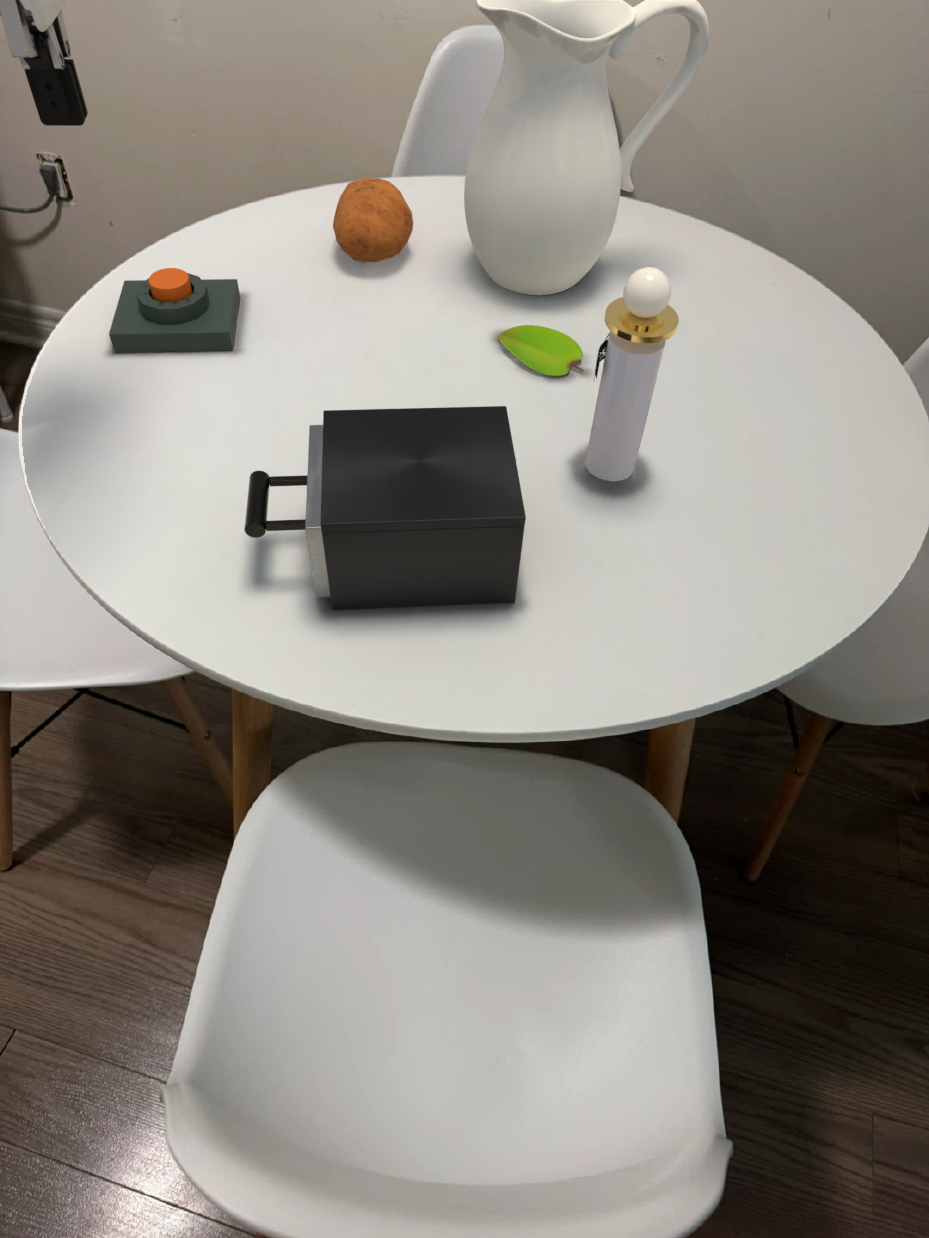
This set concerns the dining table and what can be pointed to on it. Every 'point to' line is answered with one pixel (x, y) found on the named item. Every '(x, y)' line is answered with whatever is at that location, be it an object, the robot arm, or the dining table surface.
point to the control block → (176, 318)
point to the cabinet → (420, 507)
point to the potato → (372, 220)
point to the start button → (170, 285)
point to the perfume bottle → (629, 372)
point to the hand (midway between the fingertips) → (65, 120)
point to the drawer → (312, 524)
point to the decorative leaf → (542, 348)
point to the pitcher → (560, 136)
